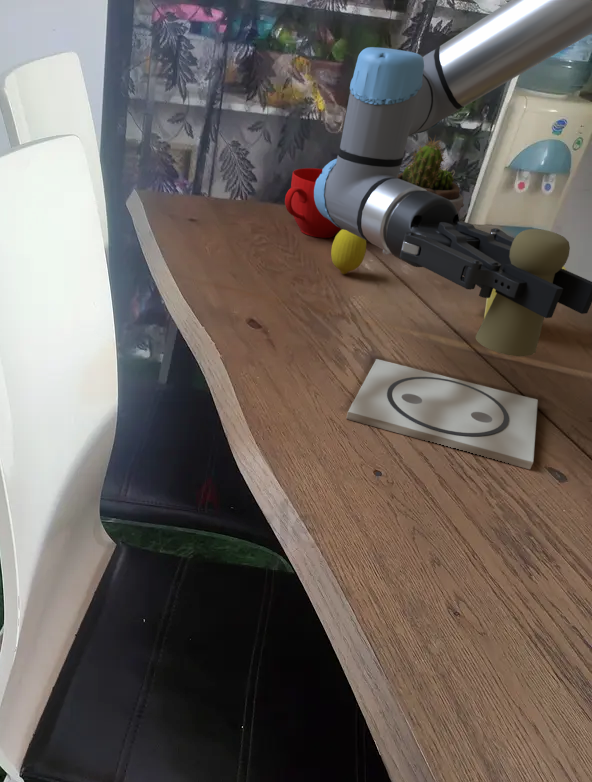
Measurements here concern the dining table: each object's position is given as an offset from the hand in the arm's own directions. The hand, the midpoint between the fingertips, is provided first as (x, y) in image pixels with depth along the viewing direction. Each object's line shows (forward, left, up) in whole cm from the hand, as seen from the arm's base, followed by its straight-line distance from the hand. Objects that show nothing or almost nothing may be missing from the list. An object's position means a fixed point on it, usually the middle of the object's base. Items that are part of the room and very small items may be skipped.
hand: (572, 301), depth 67 cm
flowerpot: (+23, -72, -18) cm, 78 cm away
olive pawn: (+4, -4, -7) cm, 9 cm away
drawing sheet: (+8, -8, -18) cm, 21 cm away
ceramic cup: (+41, -68, -18) cm, 81 cm away
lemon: (+30, -49, -18) cm, 60 cm away
